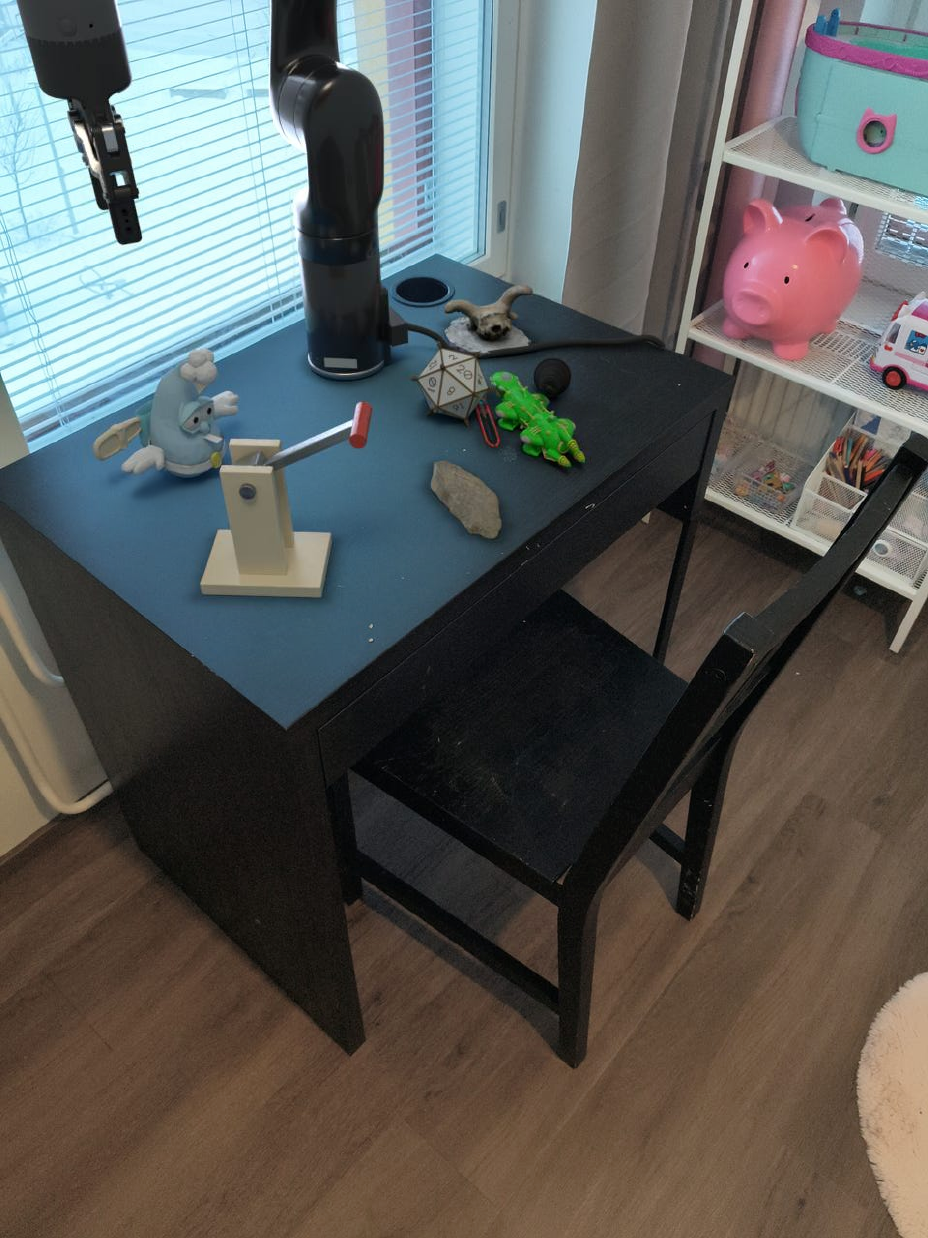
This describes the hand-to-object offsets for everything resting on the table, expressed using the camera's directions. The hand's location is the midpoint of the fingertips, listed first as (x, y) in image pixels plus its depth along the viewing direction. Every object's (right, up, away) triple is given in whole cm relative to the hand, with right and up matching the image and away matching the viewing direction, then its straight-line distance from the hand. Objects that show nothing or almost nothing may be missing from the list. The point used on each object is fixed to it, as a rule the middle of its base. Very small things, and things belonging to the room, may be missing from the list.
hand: (119, 224), depth 91 cm
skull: (+34, -1, +36) cm, 49 cm away
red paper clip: (+34, -12, +22) cm, 42 cm away
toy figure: (+3, -21, +14) cm, 25 cm away
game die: (+30, -13, +23) cm, 40 cm away
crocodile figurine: (+39, -16, +20) cm, 47 cm away
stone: (+30, -24, +9) cm, 39 cm away
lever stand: (+13, -31, +3) cm, 34 cm away
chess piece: (+42, -8, +25) cm, 50 cm away
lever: (+18, -23, -5) cm, 30 cm away
